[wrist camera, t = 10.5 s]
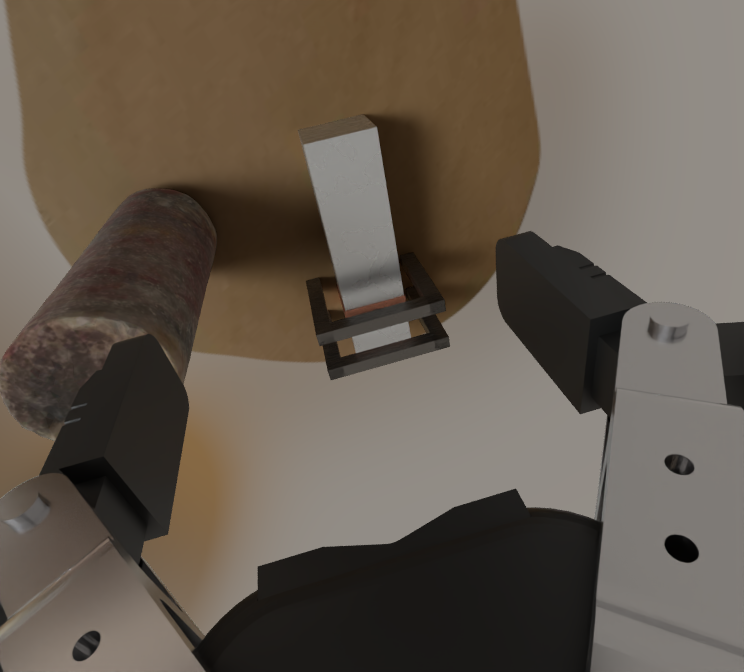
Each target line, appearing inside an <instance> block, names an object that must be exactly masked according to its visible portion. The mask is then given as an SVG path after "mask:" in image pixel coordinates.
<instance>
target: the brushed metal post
mask: <svg viewBox="0 0 744 672" xmlns="http://www.w3.org/2000/svg"><path fill="white" fill-rule="evenodd" d="M298 133H299V137H300V141H301V145H302V148H303V152H304V156H305V160H306V164H307V168H308V172H309V176H310V180H311V184H312V187H313V191H314V195H315V199H316V203H317V207H318V211H319V215H320V219H321V222H322V226H323V230H324V234H325V238H326V242H327V246H328V250H329V254H330V258H331V261H332V265H333V269H334V273H335V277H336V281H337V284H336V285H337V289H338V293H339V297H340V301H341V304H342V308H343V311H344V315H345V318H348V317H352V316H355V315H359V314H363V313H366V312H370V311H373V310H377V309H381V308H384V307H388V306H392V305H395V304H399V303H402V302H406V297H405V294H404V292H403V286H402V280H401V273H400V267H399V261H398V255H397V249H396V242H395V236H394V230H393V224H392V218H391V211H390V205H389V199H388V193H387V187H386V180H385V174H384V168H383V162H382V156H381V149H380V143H379V137H378V131H377V127H376V126H375V125H374V124H373V123H372V122H371V121H370V120H369V119H368V118H367V117H366V116H365V115H363V114H362V115H358V116H354V117H350V118H346V119H341V120H337V121H333V122H329V123H325V124H320V125H316V126H312V127H308V128H304V129H300V130H298ZM351 338H352V341H353V344H354V348H355V351H356V353H359V352H362V351H366V350H369V349H373V348H376V347H380V346H384V345H387V344H391V343H394V342H398V341H401V340H405V339H409V338H411V335H410V329H409V323H408V322H404V323H401V324H397V325H394V326H390V327H386V328H383V329H379V330H376V331H372V332H368V333H365V334H361V335H358V336H354V337H351Z"/></svg>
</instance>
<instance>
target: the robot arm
mask: <svg viewBox="0 0 744 672" xmlns="http://www.w3.org/2000/svg"><path fill="white" fill-rule="evenodd" d="M496 275H497V299H498V305H499V309H500V312H501V314H502V317H503V319H504V320H505V322H506V323H507V325H508V326H509V327H510V328H511V329H512V331H513V332H514V333H515V334H516V336H517V337H518V338H519V339H520V341H521V342H522V343H523V344H524V346H525V347H526V348H527V349H528V351H529V352H530V353H531V354H532V355H533V357H534V358H535V359H536V360H537V362H538V363H539V364H540V365H541V367H542V368H543V369H544V370H545V371H546V373H547V374H548V375H549V376H550V378H551V379H552V380H553V381H554V383H555V384H556V385H557V386H558V388H559V389H560V390H561V391H562V392H563V394H564V395H565V396H566V397H567V399H568V400H569V401H570V402H571V404H572V405H573V406H574V407H575V408H576V410H577V411H578V412H579V413H580V414H583V413H586V412H589V411H593V410H596V409H600V408H602V409H603V411H604V412H605V413H606V414H607V420H606V426H605V435H604V443H603V452H602V461H601V469H600V478H599V486H598V495H597V503H596V511H595V517H594V519H591V518H589V517H586V516H583V515H579V514H576V513H572V512H569V511H563V510H557V509H551V508H536V507H535V508H526V506H525V504H524V502H523V501H522V499H521V497H520V495H519V493H518V491H517V490H516V489H513V490H510V491H507V492H503V493H500V494H496V495H493V496H490V497H487V498H483V499H480V500H477V501H473V502H470V503H467V504H463V505H460V506H457V507H454V508H452V509H451V510H449V511H447V512H445V513H444V514H442V515H440V516H439V517H437V518H436V519H434V520H432V521H430V522H429V523H427V524H425V525H424V526H422V527H421V528H419V529H417V530H415V531H414V532H412V533H410V534H409V535H407V536H405V537H404V538H402V539H400V540H398V541H396V542H394V543H391V544H380V545H379V544H378V545H356V546H335V547H321V548H318V549H315V550H312V551H308V552H305V553H301V554H298V555H295V556H291V557H288V558H285V559H282V560H279V561H275V562H272V563H268V564H265V565H262V566H258V590H257V591H255V592H254V593H252V594H250V595H249V596H248V597H246V598H245V599H243V600H242V601H241V602H239V603H238V604H237V605H235V606H234V607H233V608H232V609H231V610H230V611H229V612H228V613H227V614H225V615H224V616H223V617H222V618H221V619H220V620H219V621H218V623H217V624H216V625H215V626H214V627H213V628H212V629H211V630H210V631H209V632H208V633H207V635H206V636H205V635H204V634H203V633H202V632H201V631H200V629H199V628H198V627H197V626H196V624H195V623H194V622H193V621H192V619H191V618H190V617H189V616H188V614H187V613H186V612H185V610H184V609H183V608H182V607H181V605H180V604H179V603H178V602H177V600H176V599H175V598H174V596H173V595H172V594H171V593H170V591H169V590H168V589H167V587H166V586H165V585H164V584H163V582H162V581H161V580H160V579H159V577H158V576H157V575H156V573H155V572H154V571H153V570H152V568H151V567H150V566H149V564H148V563H147V562H146V561H145V560H144V559H143V558H142V557H141V553H142V548H143V543H144V541H147V540H150V539H154V538H157V537H160V536H164V535H167V534H168V531H169V525H170V519H171V513H172V506H173V501H174V495H175V489H176V483H177V477H178V471H179V465H180V460H181V453H182V447H183V442H184V436H185V430H186V424H187V417H188V412H189V403H188V396H187V393H186V390H185V387H184V385H183V383H182V381H181V380H180V378H179V376H178V375H177V373H176V371H175V369H174V368H173V366H172V364H171V363H170V361H169V359H168V357H167V356H166V354H165V352H164V350H163V349H162V347H161V345H160V344H159V342H158V340H157V339H156V338H155V337H154V336H153V335H151V334H146V335H142V336H138V337H135V338H131V339H127V340H124V341H120V342H116V343H114V344H113V345H112V347H111V349H110V352H109V354H108V356H107V358H106V361H105V363H104V365H103V368H102V370H98V371H96V372H95V373H94V374H93V375H92V376H91V377H90V378H89V379H88V381H87V382H86V383H85V384H84V385H83V386H82V387H81V388H80V389H79V391H78V393H77V396H76V398H75V400H74V402H73V404H72V406H71V408H72V410H70V411H69V413H68V415H67V417H66V419H65V421H64V423H65V425H64V426H62V428H61V430H60V432H59V434H58V436H57V438H56V440H55V442H54V445H53V447H52V449H51V451H50V453H49V455H48V457H47V460H46V462H45V464H44V466H43V468H42V470H41V472H40V474H39V476H37V477H34V478H32V479H29V480H27V481H25V482H24V483H22V484H20V485H18V486H17V487H15V488H14V489H12V490H11V491H10V492H8V493H7V494H6V495H5V496H3V497H2V498H1V499H0V672H744V322H736V323H719V324H715V322H714V321H713V320H712V319H711V318H710V317H708V316H707V315H706V314H704V313H703V312H701V311H699V310H697V309H694V308H692V307H689V306H686V305H682V304H677V303H670V302H652V303H647V302H645V301H644V300H643V299H641V298H640V297H639V296H637V295H636V294H634V293H633V292H632V291H630V290H629V289H628V288H626V287H625V286H624V285H622V284H621V283H620V282H618V281H617V280H615V279H614V278H613V277H611V276H610V275H606V272H605V271H603V270H602V269H601V268H599V267H598V266H594V264H593V263H592V262H591V261H590V260H588V259H587V258H586V257H584V256H583V255H582V254H580V253H578V252H576V251H573V250H570V249H567V248H563V247H561V246H554V247H551V246H550V245H549V244H548V243H547V242H545V241H544V240H543V239H542V238H540V237H539V236H538V235H536V234H535V233H533V232H531V231H529V232H525V233H521V234H518V235H514V236H510V237H507V238H503V239H500V240H498V241H497V244H496Z"/></svg>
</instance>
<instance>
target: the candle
mask: <svg viewBox="0 0 744 672" xmlns="http://www.w3.org/2000/svg"><path fill="white" fill-rule="evenodd" d="M216 247H217V234H216V231H215V228H214V226H213V224H212V222H211V220H210V218H209V217H208V215H207V213H206V212H205V211H204V210H203V209H202V208H201V206H200V205H199V204H198V203H197V202H196V201H195V200H194V199H192V198H191V197H189V196H188V195H186V194H183V193H180V192H178V191H175V190H171V189H145V190H141V191H138V192H136V193H134V194H132V195H130V196H129V197H128V198H127V199H125V200H124V201H123V202H122V203H121V205H120V206H119V207H118V208H117V209H116V210H115V212H114V213H113V214H112V215H111V216H110V218H109V219H108V220H107V221H106V223H105V224H104V225H103V227H102V228H101V229H100V231H99V232H98V234H97V235H96V236H95V237H94V239H93V240H92V241H91V243H90V244H89V245H88V247H87V248H86V249H85V250H84V252H83V253H82V254H81V256H80V257H79V259H78V260H77V261H76V262H75V263H74V265H73V266H72V268H71V269H70V270H69V272H68V273H67V274H66V276H65V277H64V278H63V279H62V281H61V282H60V283H59V285H58V286H57V287H56V289H55V290H54V291H53V292H52V294H51V295H50V296H49V297H48V298H47V299H46V301H45V302H44V303H43V305H42V306H41V307H40V308H39V310H38V311H37V312H36V314H35V315H34V316H33V317H32V318H31V319H30V320H29V322H28V323H27V324H26V326H25V327H24V328H23V329H22V331H21V332H20V333H19V335H18V336H17V337H16V339H15V340H14V341H13V343H12V344H11V345H10V347H9V348H8V349H7V351H6V352H5V354H4V356H3V358H2V359H1V361H0V393H1V396H2V399H3V402H4V404H5V405H6V407H7V408H8V410H9V413H10V414H11V415H12V416H13V417H14V418H15V419H16V420H17V421H18V422H19V424H20V425H21V427H22V428H25V429H28V430H30V431H33V432H35V433H36V434H38V435H40V436H42V437H45V438H48V439H50V440H53V441H55V440H56V438H57V436H58V434H59V432H60V430H61V428H62V426H64V425H65V423H64V421H65V419H66V417H67V415H68V413H69V411H70V410H72V408H71V406H72V404H73V402H74V400H75V398H76V396H77V393H78V391H79V389H80V388H81V387H82V386H83V385H84V384H85V383H86V382H87V381H88V379H89V378H90V377H91V376H92V375H93V374H94V373H95V372H96V371H98V370H102V368H103V365H104V363H105V361H106V358H107V356H108V354H109V352H110V349H111V347H112V345H113V344H114V343H116V342H120V341H124V340H127V339H131V338H135V337H138V336H142V335H146V334H151V335H153V336H154V337H155V338H156V339H157V340H158V342H159V344H160V345H161V347H162V349H163V350H164V352H165V354H166V356H167V357H168V359H169V361H170V363H171V364H172V366H173V368H174V369H175V371H176V373H177V375H178V376H179V378H180V380H181V381H182V383H184V379H185V376H186V372H187V368H188V364H189V361H190V356H191V351H192V347H193V342H194V338H195V333H196V330H197V325H198V320H199V317H200V313H201V308H202V304H203V300H204V296H205V291H206V286H207V283H208V279H209V276H210V272H211V268H212V264H213V261H214V256H215V251H216Z"/></svg>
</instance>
